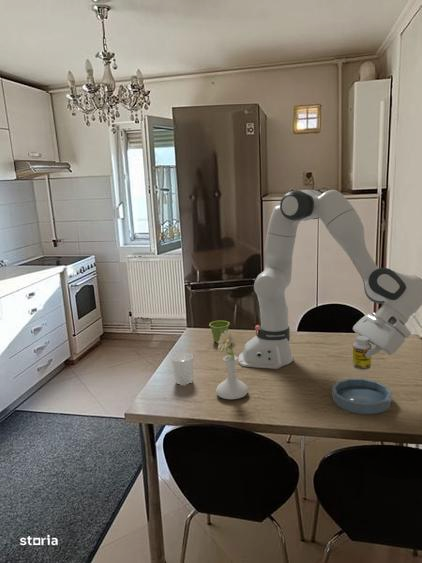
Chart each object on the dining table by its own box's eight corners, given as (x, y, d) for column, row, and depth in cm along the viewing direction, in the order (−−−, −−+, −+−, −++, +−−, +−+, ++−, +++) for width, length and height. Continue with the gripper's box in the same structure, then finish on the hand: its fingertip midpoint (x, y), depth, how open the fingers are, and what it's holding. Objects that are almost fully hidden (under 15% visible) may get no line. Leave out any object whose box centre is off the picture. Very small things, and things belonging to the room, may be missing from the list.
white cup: (185, 375, 171) (183, 351, 168) (198, 381, 165) (197, 356, 163) (169, 382, 165) (167, 357, 163) (183, 388, 160) (181, 363, 157)
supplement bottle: (352, 370, 140) (353, 340, 137) (352, 363, 145) (353, 334, 143) (371, 371, 138) (371, 341, 136) (370, 364, 143) (371, 335, 141)
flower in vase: (216, 387, 159) (212, 322, 153) (247, 386, 158) (244, 321, 153) (215, 405, 146) (211, 335, 140) (249, 404, 146) (246, 334, 140)
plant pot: (223, 346, 198) (222, 328, 196) (206, 343, 203) (205, 325, 201) (234, 339, 206) (233, 322, 204) (217, 336, 211) (216, 319, 209)
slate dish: (337, 414, 136) (337, 404, 136) (329, 387, 154) (329, 378, 153) (397, 414, 134) (398, 404, 133) (381, 387, 152) (382, 378, 151)
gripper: (365, 305, 149) (338, 335, 149) (401, 323, 129) (370, 358, 130) (377, 316, 150) (350, 346, 151) (414, 336, 131) (384, 370, 131)
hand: (360, 352), depth 140 cm, fingers closed on supplement bottle, 5 cm apart
